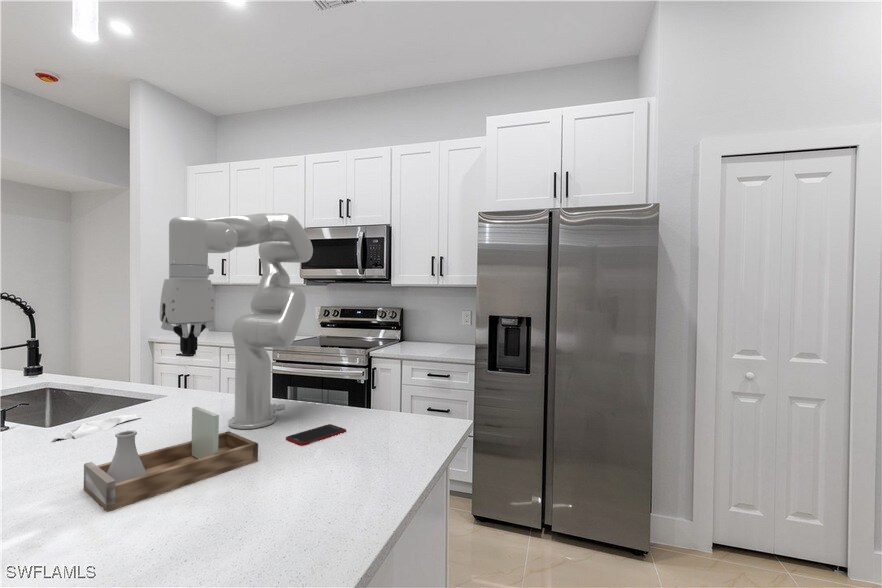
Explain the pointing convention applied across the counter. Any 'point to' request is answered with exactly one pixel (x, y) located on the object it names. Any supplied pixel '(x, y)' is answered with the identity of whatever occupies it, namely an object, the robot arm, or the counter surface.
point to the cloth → (97, 426)
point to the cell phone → (315, 434)
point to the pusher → (204, 432)
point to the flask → (126, 458)
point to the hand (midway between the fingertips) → (188, 354)
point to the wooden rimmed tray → (167, 471)
